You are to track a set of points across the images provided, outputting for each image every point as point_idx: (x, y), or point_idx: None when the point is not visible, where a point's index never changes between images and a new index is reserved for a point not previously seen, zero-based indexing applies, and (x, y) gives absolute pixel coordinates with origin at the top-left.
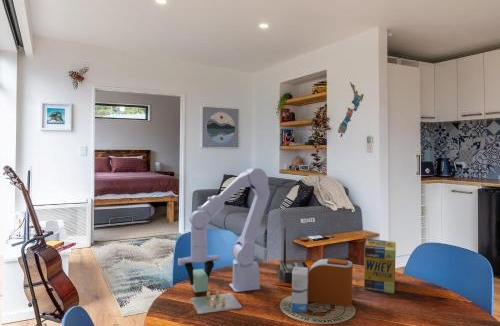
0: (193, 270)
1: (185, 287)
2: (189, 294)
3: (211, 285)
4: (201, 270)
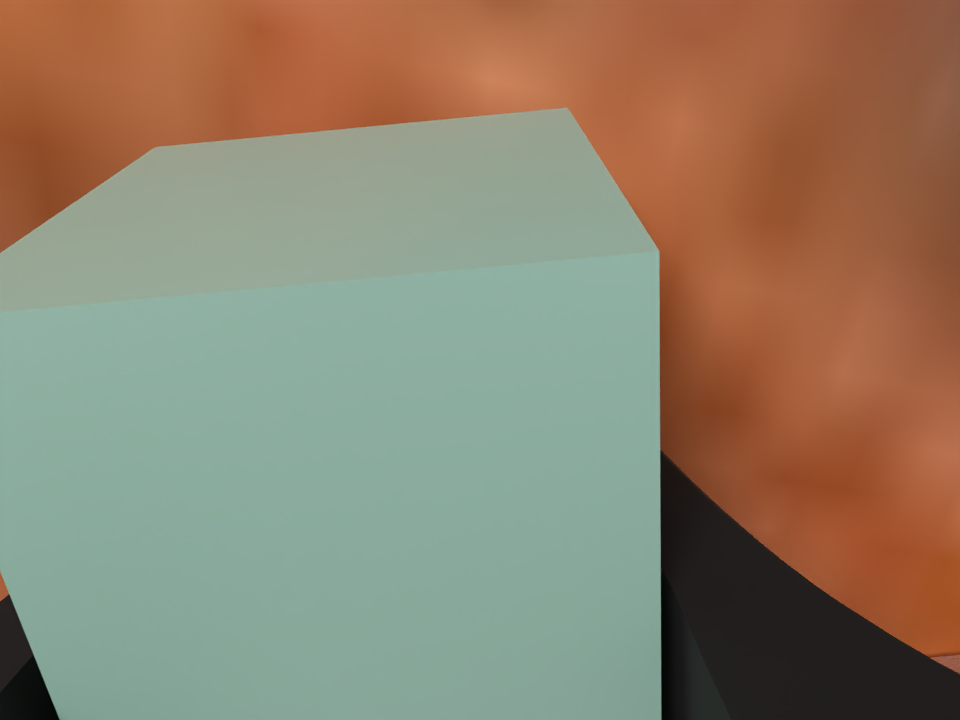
0: (101, 438)
1: (46, 14)
2: None
3: (821, 10)
4: (534, 505)
